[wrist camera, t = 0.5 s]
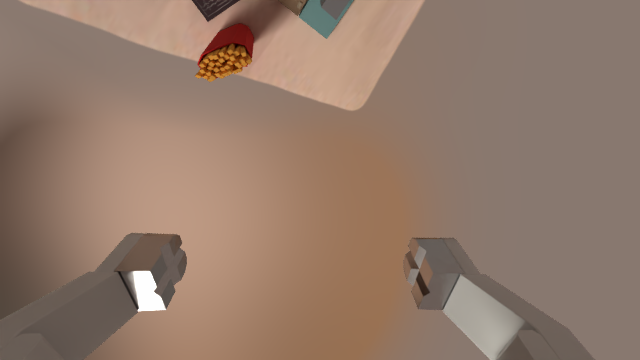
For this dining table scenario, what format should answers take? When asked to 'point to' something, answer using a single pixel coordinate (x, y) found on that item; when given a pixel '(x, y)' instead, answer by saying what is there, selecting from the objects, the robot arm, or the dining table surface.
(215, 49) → the french fries
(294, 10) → the board
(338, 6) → the teal base gray block
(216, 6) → the chocolate bar
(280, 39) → the dining table surface
